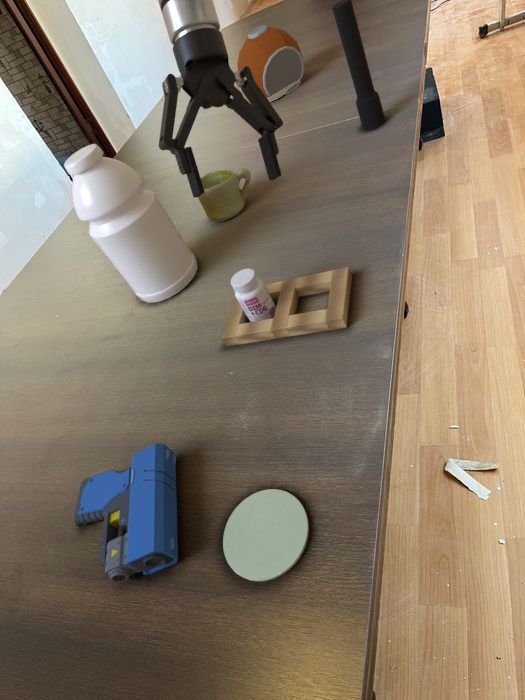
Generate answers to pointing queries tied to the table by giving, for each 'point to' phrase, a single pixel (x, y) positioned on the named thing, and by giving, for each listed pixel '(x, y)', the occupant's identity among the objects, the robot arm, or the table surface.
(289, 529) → the coaster
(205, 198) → the mug
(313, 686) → the table surface
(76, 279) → the table surface
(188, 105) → the robot arm
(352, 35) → the flashlight
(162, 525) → the stun gun
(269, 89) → the alarm clock
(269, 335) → the frame
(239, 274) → the pill bottle
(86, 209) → the bottle
